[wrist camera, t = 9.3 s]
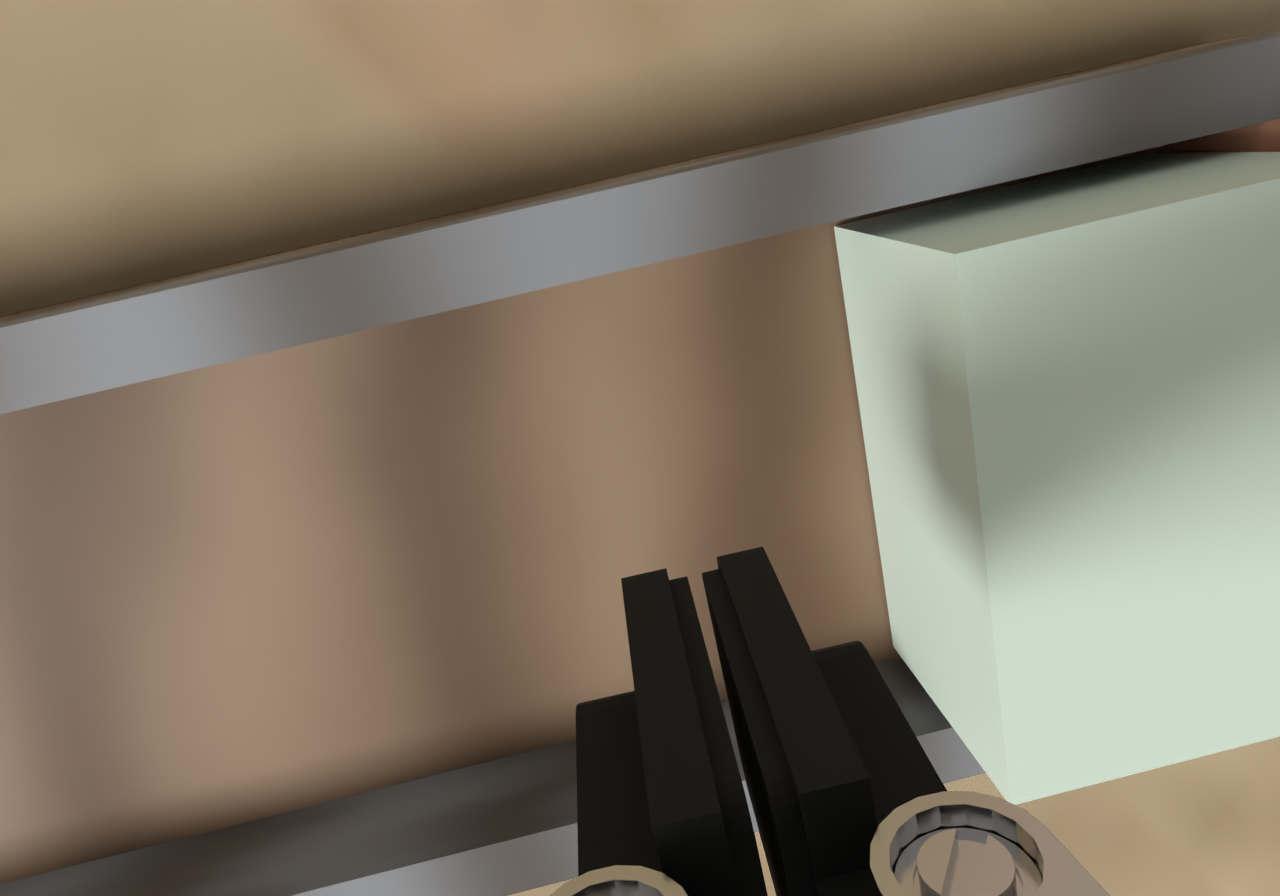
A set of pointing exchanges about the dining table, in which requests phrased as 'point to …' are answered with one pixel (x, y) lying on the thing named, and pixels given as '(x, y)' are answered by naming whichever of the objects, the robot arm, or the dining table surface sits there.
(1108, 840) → the dining table surface
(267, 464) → the track
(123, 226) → the dining table surface
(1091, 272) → the sliding block
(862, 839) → the robot arm
